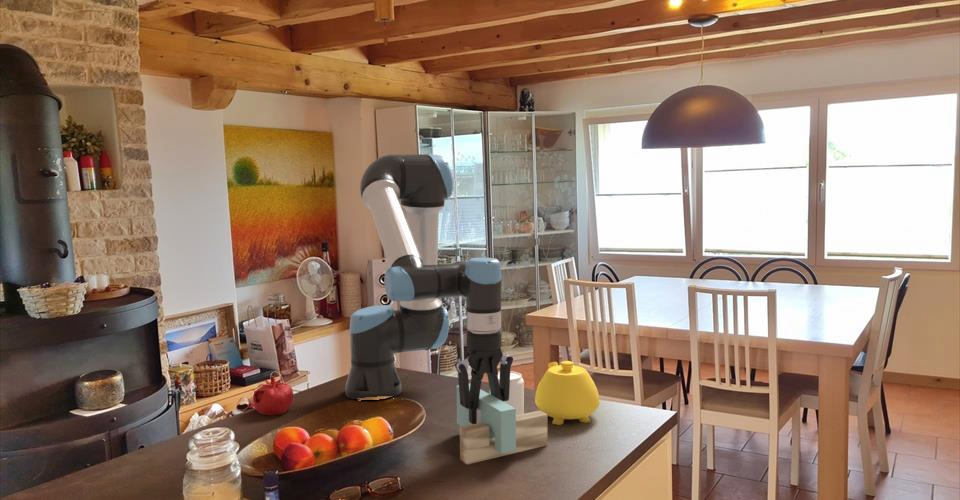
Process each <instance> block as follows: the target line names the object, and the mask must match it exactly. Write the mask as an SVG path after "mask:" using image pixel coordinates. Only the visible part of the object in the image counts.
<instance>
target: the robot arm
mask: <svg viewBox="0 0 960 500" xmlns="http://www.w3.org/2000/svg"><path fill="white" fill-rule="evenodd" d="M359 186H360V188H359V190H360V191H359V193H360V197H361V199H362V202H363V205H364V206H365V207H366V208H367V209H369V211H370V214H371V217H372V220H373V223H374V226H375V228H376V231H377V233H378V237H379V241H380V243H381V247H382V249H383V252H384V255H385V258H386V261H387V264H388V268H387V269H386V270H385V273H384V280H383V281H384V289H385V290H384V291H385V294H386V297H387V298H388V300H389V301H391V302H399V309H395V310H394V307H393V306H391V305H388V304H383V305H371V306H367V307H364V308H363V307H362V308H359V309H357V310H356V311H354V312H353V313H352V314H351V315H350V318H349V329H348V330H349V331H348V332H349V336H350V337H349V341H350V343H349V344H350V369H349V372H348V376H347V380H346V383H345V386H344V387H345V388H344V391H345V393H344V394H345V396H346V397H347V398H349V399H350V400H354V399H357V398H365V397H377V396H394V397H393V398H395V397H397V396H398V395H400V394H401V393H402V382H401V379H400V376H399V374H398V371H397V368H396V365H395V354H398V353H407V352H415V351H429V350H433V349H437V348H438V349H439V348H441V347H443V345H444V344H445V343H446V341H447V339H448V336H449V329H450V320H449V312H448V310H447V308H446V307H445V306H443V302H442V300H440V299H446V298H457V297H464V298H465V302H466V303H465V305H466V307H465V308H466V309H465V310H466V311H465V313H466V316H465V317H466V319H465V320H466V321H465V322H466V323H465V324H466V329H467V332H466V349H467V352H466V355H465V359H463V360H462V361H456V362H455V363H454V367H455V368H456V371H457V377H458V378H457V379H458V385H459V395H460V405H462V406H463V407H465V408H467V409H469V422H470V423H471V424H477V423H481V409H479V408H478V402H479V395H480V389H481V387H482V381H483V379H484V375H485V374H486V376H487V381H488V386H489V394H490V393H491V395H492V396H494V397H496V398H498V399H499V400H501V401H503V402H504V401H508V400H509V389H510V371H511V367H512V365H513V361H514V358H513V356H511V355H508V354H507V353H505V354H504V353H503V351H502V347H503V345H502V342H503V341H502V340H503V338H502V337H503V336H502V335H503V334H502V331H501V329H502V278H503V276H502V275H503V274H502V270H501V269H502V268H501V262H500V261H499V260H500V259H498V258H495V257H494V258H493V257H471V258H469V259H467V261H465V260H461V261H460V260H457V261H453V262H451V263H444V264H443V263H442V264H438V259H439V257H438V255H439V252H438V251H439V213H440V211H441V210H442V209H443V208H445V201H446V200H447V199H449V198H450V197H451V196H452V194H453V193H452V192H453V191H454V181H453V173H452V171H451V167H450V165H449V162H448V161H447V160H446V158H445V157H444V156H442V155H439V154H438V155H437V154H429V153H425V154H423V153H422V154H415V153H414V154H385V155H382V156H380V157H377V158H376V159H375V160H373V161H372V162H371V163H370V164H369V165H368V166H367V168H366V169H365V170H364V172H363V173H362V176H361V180H360V185H359ZM404 210H405V211H406V214H405V212H404ZM499 364H500V366H499V371H500V380H499V381H498V372H499V371H498V365H499ZM469 367H470V368H471V370H470V376H471V377H470V380H469V373H468V371H469ZM469 381H470V382H469ZM469 383H470V391H469Z"/></svg>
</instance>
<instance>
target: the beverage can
mask: <svg viewBox="0 0 960 500" xmlns="http://www.w3.org/2000/svg"><path fill="white" fill-rule="evenodd" d="M499 380H500V370H499V371H498V381H499ZM524 383H525V380H524V378H523V376H522V373H520V372H516V371H512V370H510V389H509V400H508V401H504V402H505V403H507V404H508V405H510V406H512V407H514V408H516V415H520V414H525V409H524V408H525V393H524V392H525V390H524V389H525V384H524ZM489 394H490V395H491V393H490V392H489Z"/></svg>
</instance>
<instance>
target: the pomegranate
mask: <svg viewBox="0 0 960 500" xmlns="http://www.w3.org/2000/svg"><path fill="white" fill-rule="evenodd" d="M275 377H276V376H275V375H272V376H270V378H269V379H270V382H269V381H268V380H263V382H265V383H260V384H259V385H258V386H256V387H257V389H256V391H255V392H254V393H253V395H252V402H253V406H254V408H255V410H256V412H258V413H259V414H261V415H266V416H276V415H281V414H285V413H286V412H287V411H288V410H289V409H290V408H291V407H292V405H293V401H294V397H295V396H294V390H293V388H292V386H290V385H289V384H288V383H283V382H281V381H285V382H286V381H287V379H283V378H280V379H278V380H277V381H276V378H275Z"/></svg>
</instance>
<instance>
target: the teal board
mask: <svg viewBox="0 0 960 500" xmlns="http://www.w3.org/2000/svg"><path fill="white" fill-rule="evenodd" d="M470 384H471V382H469V391H470ZM455 388H456V424H457V425H458V426H459V427H462V426H467V425H472V424H471V423H470V422H469V409H467V408H465V407H463V406H462V405H460V395H459V384H457V385H456V387H455ZM478 408H479V409H481V423H482V422H483V423H484V424H486V425H487V426H489V439H492V438H495V450H496V451H498V452H499V453H501V454H504V453H508V452H512V451H516V408H514V407H512V406H510V405H508V404H507V403H505V402H503V401H501V400H499V399H498V398H496V397H494V396H492V395H490V393H489V392H486V391H485V390H483V389H481V388H480V395H479V402H478Z"/></svg>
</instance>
